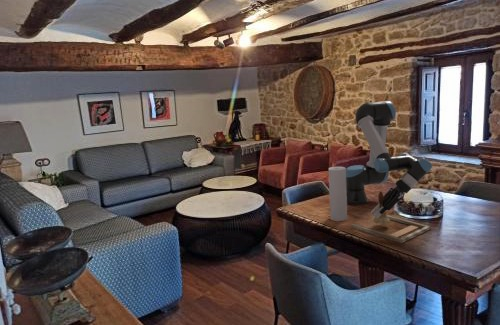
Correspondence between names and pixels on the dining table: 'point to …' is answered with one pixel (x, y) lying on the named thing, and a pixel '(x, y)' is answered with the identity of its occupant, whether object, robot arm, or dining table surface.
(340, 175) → the cylinder container
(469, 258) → the dining table surface
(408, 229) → the tan wooden strip
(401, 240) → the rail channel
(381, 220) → the hand bell
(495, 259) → the dining table surface
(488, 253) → the dining table surface
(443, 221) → the dining table surface
